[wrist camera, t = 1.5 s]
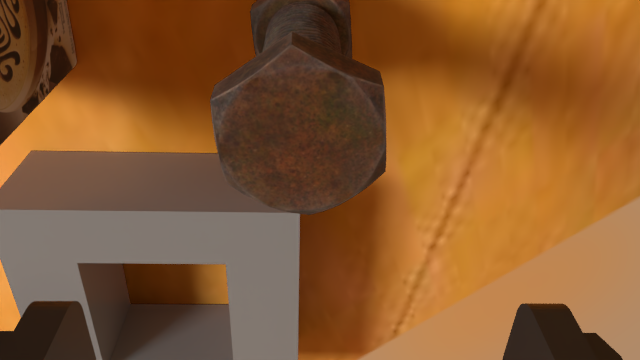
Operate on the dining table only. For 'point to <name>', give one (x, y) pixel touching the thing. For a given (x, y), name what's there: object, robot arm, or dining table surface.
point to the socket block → (151, 252)
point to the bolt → (301, 111)
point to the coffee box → (31, 56)
